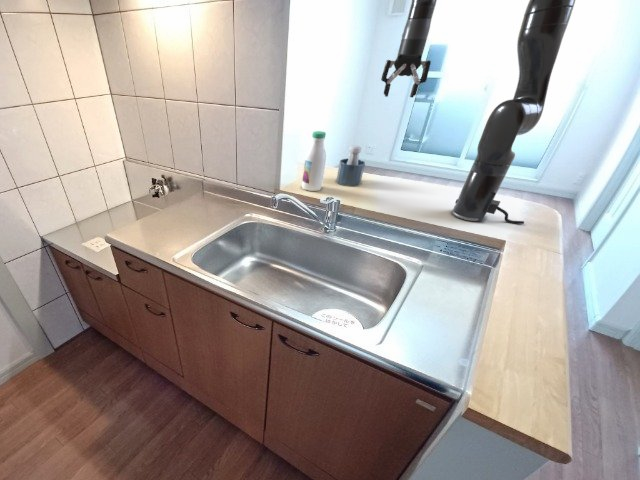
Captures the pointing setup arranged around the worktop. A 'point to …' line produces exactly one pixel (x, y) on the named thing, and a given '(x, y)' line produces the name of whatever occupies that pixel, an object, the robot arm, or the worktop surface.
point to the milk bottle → (314, 163)
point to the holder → (350, 173)
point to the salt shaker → (354, 155)
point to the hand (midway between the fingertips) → (398, 96)
